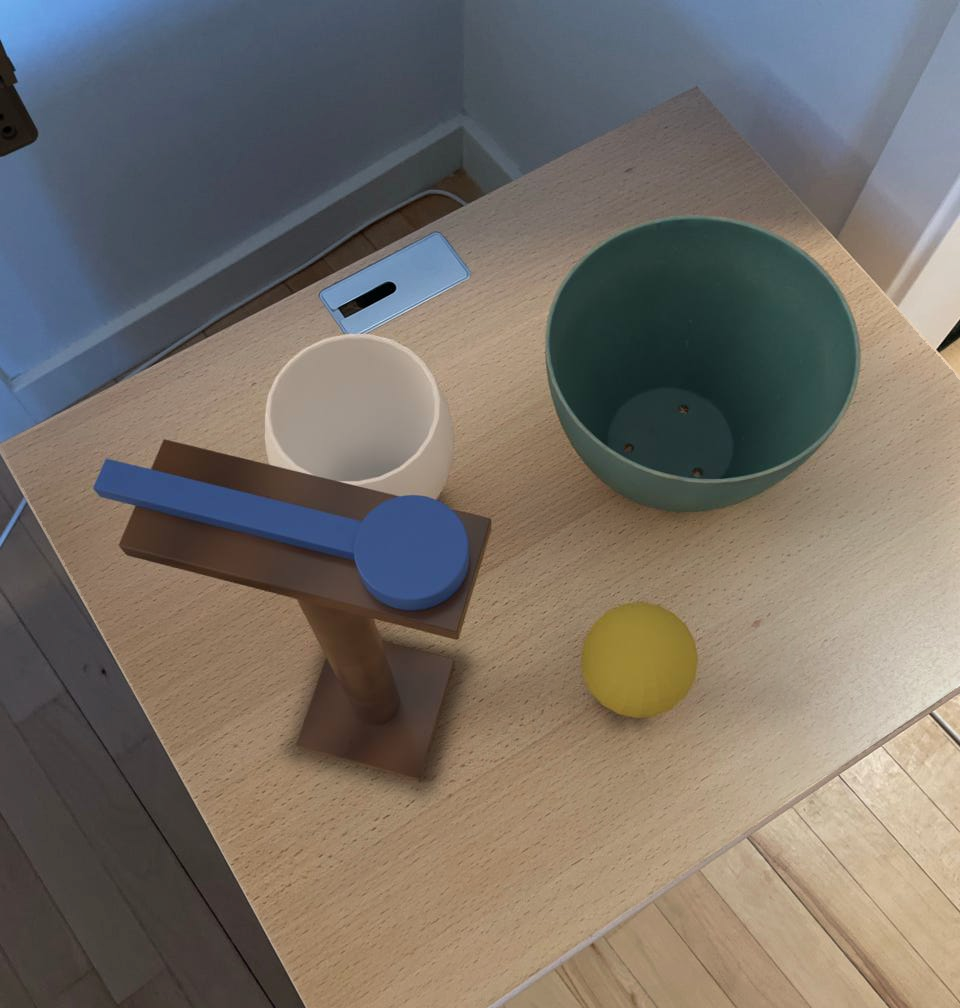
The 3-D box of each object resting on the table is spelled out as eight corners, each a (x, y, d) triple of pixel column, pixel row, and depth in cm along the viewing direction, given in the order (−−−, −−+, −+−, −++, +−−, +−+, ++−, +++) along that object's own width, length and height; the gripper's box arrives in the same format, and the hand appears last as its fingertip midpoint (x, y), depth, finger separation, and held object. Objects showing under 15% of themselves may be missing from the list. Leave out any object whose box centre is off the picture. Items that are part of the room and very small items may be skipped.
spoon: (85, 530, 41) (73, 516, 39) (126, 436, 42) (116, 420, 41) (452, 623, 39) (450, 612, 38) (482, 522, 40) (482, 509, 39)
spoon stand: (253, 736, 64) (103, 579, 40) (294, 622, 67) (176, 407, 42) (466, 794, 63) (446, 668, 38) (500, 675, 65) (501, 485, 41)
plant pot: (822, 558, 68) (889, 469, 56) (549, 577, 68) (560, 491, 56) (778, 328, 74) (830, 205, 62) (527, 345, 74) (532, 224, 62)
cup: (492, 542, 68) (490, 425, 54) (360, 630, 67) (323, 532, 52) (403, 431, 71) (379, 292, 57) (275, 512, 70) (217, 389, 55)
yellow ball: (699, 707, 64) (733, 658, 55) (612, 763, 63) (632, 724, 54) (637, 623, 66) (660, 563, 57) (552, 677, 65) (561, 624, 56)
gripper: (-489, -457, 28) (-127, 75, 45) (-351, -185, 24) (-10, 287, 41) (-229, -542, 29) (31, 6, 46) (-59, -296, 26) (158, 206, 42)
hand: (11, 138), depth 43 cm, fingers closed
